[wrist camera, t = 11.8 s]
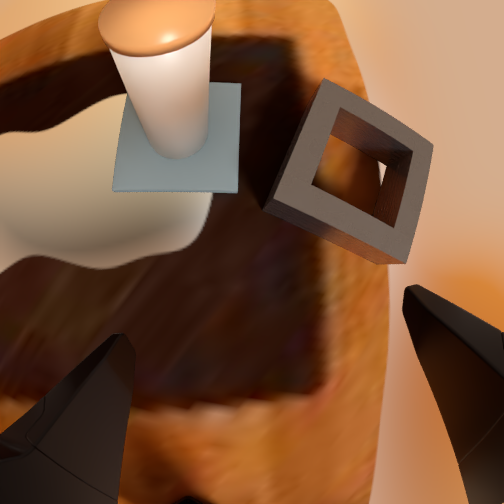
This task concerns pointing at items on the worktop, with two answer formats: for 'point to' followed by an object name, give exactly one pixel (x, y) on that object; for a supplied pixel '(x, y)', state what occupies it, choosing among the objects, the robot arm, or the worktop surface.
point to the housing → (334, 209)
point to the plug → (164, 67)
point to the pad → (187, 169)
